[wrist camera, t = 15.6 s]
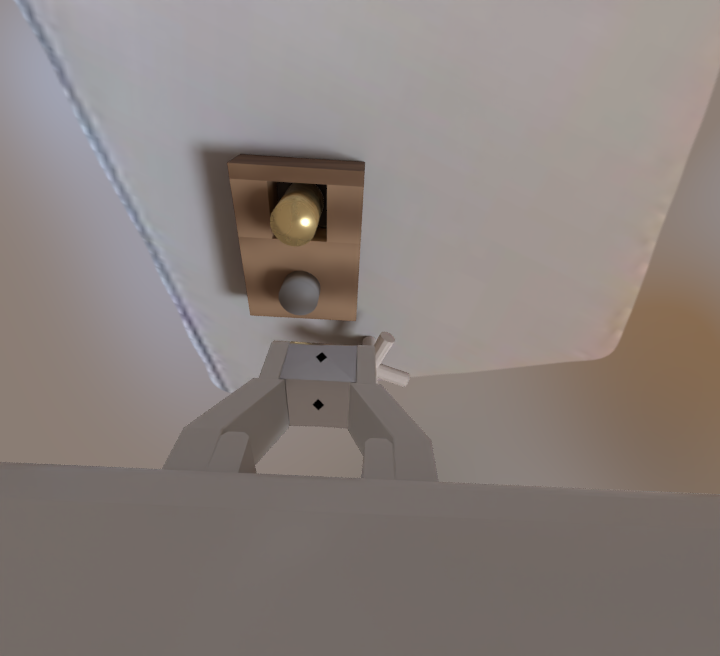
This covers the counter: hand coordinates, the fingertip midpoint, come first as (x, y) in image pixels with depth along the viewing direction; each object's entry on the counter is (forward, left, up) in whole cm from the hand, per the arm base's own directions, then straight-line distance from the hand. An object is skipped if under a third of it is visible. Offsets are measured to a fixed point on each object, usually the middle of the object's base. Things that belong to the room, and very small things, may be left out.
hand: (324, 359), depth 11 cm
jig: (+8, -5, -29) cm, 31 cm away
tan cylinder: (+4, -5, -29) cm, 30 cm away
